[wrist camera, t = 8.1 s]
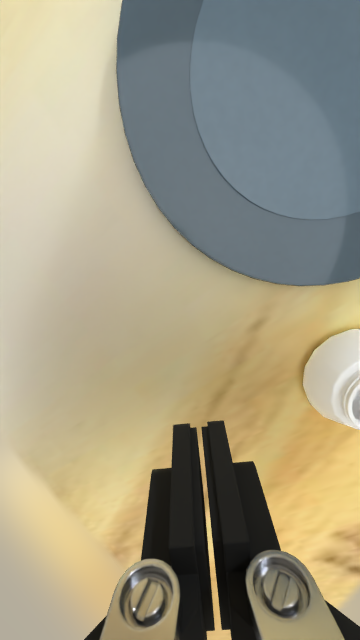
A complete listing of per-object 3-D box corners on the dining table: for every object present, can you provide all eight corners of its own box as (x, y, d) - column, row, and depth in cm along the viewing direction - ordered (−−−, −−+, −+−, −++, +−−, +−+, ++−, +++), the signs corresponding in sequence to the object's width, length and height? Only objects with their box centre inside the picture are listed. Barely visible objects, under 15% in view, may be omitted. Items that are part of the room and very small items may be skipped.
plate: (149, 297, 15) (146, 303, 14) (87, -152, 10) (75, -197, 9) (496, 264, 14) (522, 267, 13) (591, -258, 9) (645, -325, 8)
